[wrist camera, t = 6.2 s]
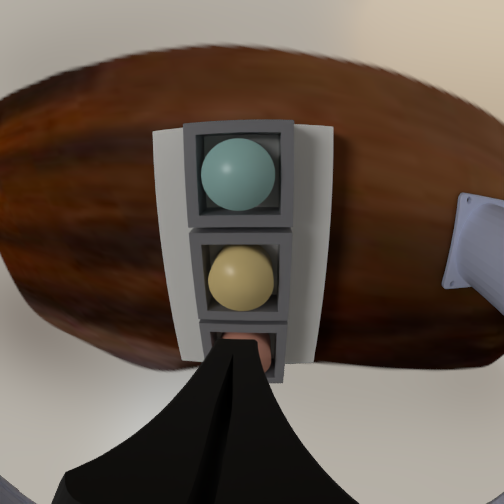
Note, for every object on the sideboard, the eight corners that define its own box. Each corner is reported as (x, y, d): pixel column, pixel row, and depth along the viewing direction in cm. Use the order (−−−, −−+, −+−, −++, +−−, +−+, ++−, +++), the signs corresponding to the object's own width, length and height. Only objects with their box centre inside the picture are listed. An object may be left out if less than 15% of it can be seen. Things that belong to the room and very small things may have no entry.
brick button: (271, 322, 17) (272, 340, 15) (270, 359, 18) (270, 378, 17) (218, 321, 17) (214, 339, 16) (222, 358, 19) (219, 377, 17)
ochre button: (273, 240, 15) (274, 253, 13) (272, 293, 16) (273, 311, 15) (212, 240, 15) (205, 252, 14) (216, 293, 17) (210, 310, 15)
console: (325, 129, 15) (343, 123, 11) (309, 346, 21) (316, 381, 17) (164, 133, 15) (138, 129, 12) (187, 344, 21) (175, 378, 18)
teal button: (273, 139, 13) (274, 137, 11) (273, 203, 14) (275, 210, 13) (207, 141, 13) (199, 140, 12) (210, 203, 15) (202, 211, 13)
